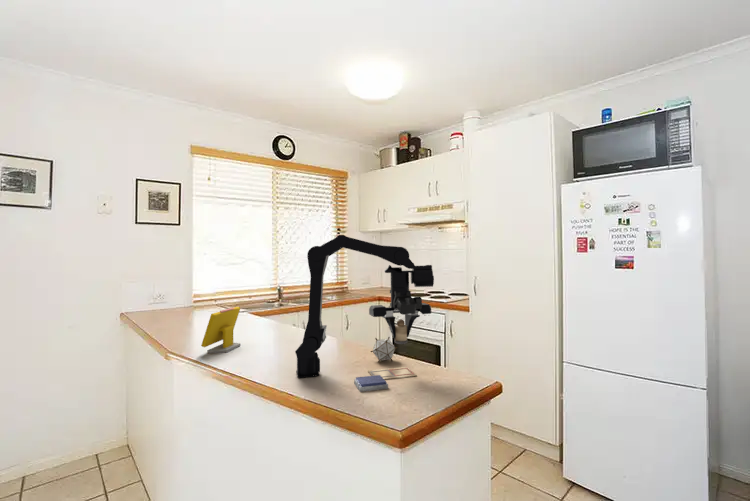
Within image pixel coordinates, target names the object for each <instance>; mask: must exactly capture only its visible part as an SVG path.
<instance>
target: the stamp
mask: <svg viewBox="0 0 750 501" xmlns="http://www.w3.org/2000/svg"><path fill="white" fill-rule="evenodd" d="M395 332H396V337H395V338H394V344H395V345H396V344H397V345H404V344H405V345H406V344H408V337H407V325H405V320H404V319H401V318H400V319H398V320H397V321H396V324H395Z"/></svg>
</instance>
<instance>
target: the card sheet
mask: <svg viewBox="0 0 750 501" xmlns="http://www.w3.org/2000/svg"><path fill="white" fill-rule="evenodd" d="M367 373H368V374H369V376H375V375H380V376H381V377H382V378H383V379H384V380H385V381H386V380H395V379H404V378H413V377H418V375H417V374H416V373H415V372H413V371H411V369H410V368H409V367H407V366H403V367H393V368H382V369H372V370H367Z"/></svg>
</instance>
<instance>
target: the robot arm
mask: <svg viewBox="0 0 750 501" xmlns="http://www.w3.org/2000/svg"><path fill="white" fill-rule="evenodd" d="M342 249H348V250H352V251H355V252H359V253H363V254H368V255H371V256H374V257H378V258H381V259H383V260H384V261H386V262H389V263H391V264H393V265H396V266H397V267H396V266H394V267H393V266H392V265H390V264H389V265H388V267H387V268H386V269H385V270H384V273H385V274H390V290H389V294H390V303H389V306H390V307H386V306H385V305H382V304H375V305H373V304H372V305H370V306H369V308H368V315H370V316H371V317H374V318H383V319H384V320H385V322H386V323H387V325H388V328H389V330H390V333H391V335H392V338H393V339H395V337H396V332H395V325H396V322H395V321H396V316H394V314H397V313H398V314H400V315H403V316H404V323H405V324H404V325H407V338H409V335H410V333H411V329H412V326H413V324H414V323H415V322H414V321H415V320H416V319H417V318H419V317H420V314H422V315H430V314H432V305H430V304H428V303H426V302H422V301H423V299H422V297H421V296H415V297H412V292H411V290H410V283H411V284H413V285H414V287H415V288H424V287H425V288H429V287H430V288H431V287H434V283H435V279H434V278H435V277H434V271H433V265H432V264H425V265H415V263H414V262H413V261H412V260H411V259H410V252H409V251H408V249H407V248H406V247H403V246H397V245H395V246H393V245H380V244H377V243H373V242H368V241H364V240H361V239H358V238H353V237H350V236H346V235H344V234H339V235H337V236H336V237H334V238H333V239H331V240H329V241H328V242H325V243H323V244H322V245H314V246H312V247H311V248H309V250H308V251H307V255H306V256H307V257H306V258H307V265H308V269H309V274H310V283H309V299H308V300H309V301H308V315H307V316H308V317H307V319H308V320H307V324H306V327H305V331H304V335H303V339H302V343H301V344H299V346H298V348H297V349H296V350H295V351H294V352H295V355H296V371H295V373H296V377H297V378H298V379H300V378H301V379H302V378H313V377H320V373H321V359H320V357H319V354H318V352H317V351H319V350H320V348H321V347H322V345H323V343H325V341H326V339H327V335H326V333H327V332H326V331H327V326H328V325H327V324H325V325H323V322H322V313H323V312H322V310H323V308H322V307H323V295H324V293H323V291H324V275H325V272H326V269H327V265H328V260H329V257H331V256H332V255H334V254H335V253H337V252H338V251H339V250H342ZM398 266H400V267H398ZM401 266H403V267H405V268H407V269H409V270H403V268H402V267H401ZM419 312H420V314H419Z"/></svg>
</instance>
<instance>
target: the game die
mask: <svg viewBox="0 0 750 501" xmlns="http://www.w3.org/2000/svg"><path fill="white" fill-rule="evenodd" d="M390 339H391V338H390V336H388V338H382V339H381V338H380V339H378V338H377V337H375V338H374V340H376V341H375V343H374V346H373V349H372V350H371V351H370V353H373V354H374V356H375V357H376V358H377V360H378V361H377V363H380V362H381V361H389V360H390V361H391V362H394V361H393V356H394V353H395V351H396V349H398V346H395V345H394V344H393V342H392V341H391V340H390Z"/></svg>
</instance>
